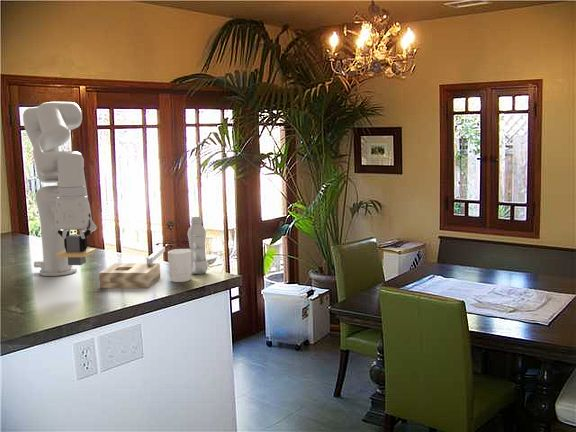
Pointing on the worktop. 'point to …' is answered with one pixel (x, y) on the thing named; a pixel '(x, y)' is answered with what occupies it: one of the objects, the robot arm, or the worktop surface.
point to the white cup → (180, 265)
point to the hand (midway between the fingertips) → (76, 250)
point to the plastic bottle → (197, 246)
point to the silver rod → (155, 256)
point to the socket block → (129, 275)
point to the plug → (75, 251)
